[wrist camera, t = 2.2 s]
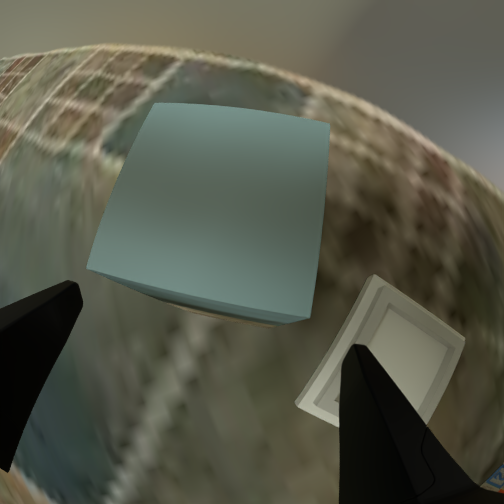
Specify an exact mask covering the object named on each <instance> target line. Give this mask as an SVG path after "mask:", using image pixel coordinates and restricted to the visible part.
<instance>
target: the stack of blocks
mask: <svg viewBox="0 0 504 504" xmlns="http://www.w3.org/2000/svg"><path fill="white" fill-rule="evenodd" d="M480 487H482V488H484V489H487V490H491V491H496V492H500V493H504V463H503V465H501V466H500V467H499V468H498V469H497V471H496V472H495V473H494V474H493V475H492V476H491V477H490V478H489V479H487V480H486V482H485V483H483V484H482V485H481V486H480Z"/></svg>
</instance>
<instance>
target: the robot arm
mask: <svg viewBox="0 0 504 504" xmlns="http://www.w3.org/2000/svg"><path fill="white" fill-rule="evenodd" d="M82 307H83V299H82V295H81V292H80V288H79V285H78V284H77V283H76V282H73V281H70V280H67V281H64V282H62V283H59V284H57V285H54V286H52V287H49V288H47V289H45V290H42V291H40V292H38V293H35V294H33V295H31V296H28V297H26V298H24V299H21V300H19V301H17V302H14V303H12V304H10V305H8V306H5V307H3V308H1V309H0V468H1V469H2V470H4V471H5V472H7V473H8V472H9V470H10V467H11V464H12V461H13V458H14V455H15V452H16V449H17V447H18V444H19V441H20V439H21V436H22V433H23V430H24V428H25V426H26V423H27V421H28V418H29V416H30V414H31V411H32V409H33V407H34V405H35V403H36V400H37V398H38V396H39V394H40V392H41V390H42V388H43V386H44V384H45V382H46V380H47V378H48V376H49V374H50V372H51V370H52V368H53V366H54V364H55V362H56V360H57V358H58V356H59V355H60V353H61V351H62V349H63V347H64V346H65V344H66V342H67V340H68V337H69V335H70V333H71V331H72V329H73V326H74V324H75V322H76V320H77V318H78V316H79V314H80V312H81V310H82ZM426 426H427V425H426V424H425V422H424V421H423V419H422V418H421V417H420V415H419V414H418V413H417V411H416V410H415V409H414V407H413V406H412V405H411V403H410V402H409V401H408V399H407V398H406V397H405V395H404V394H403V393H402V391H401V390H400V389H399V387H398V386H397V385H396V383H395V382H394V381H393V379H392V378H391V377H390V376H389V374H388V373H387V372H386V370H385V369H384V368H383V366H382V365H381V364H380V363H379V361H378V360H377V359H376V357H375V356H374V355H373V354H372V352H371V351H370V350H369V348H368V347H367V346H366V345H364V344H352V345H351V347H350V349H349V350H348V352H347V354H346V356H345V358H344V359H343V362H342V366H341V382H340V398H339V440H340V479H339V504H504V493H500V492H496V491H491V490H487V489H484V488H482V487H480V486H478V485H477V484H476V483H474V482H473V481H472V480H471V479H470V477H469V476H468V475H467V474H466V473H465V472H464V471H463V470H462V468H461V467H460V466H459V465H458V464H457V463H456V462H455V460H454V459H453V458H452V457H451V456H450V455H449V453H448V452H447V451H446V450H445V449H444V448H443V446H442V445H441V444H440V442H439V441H438V440H437V438H436V437H435V436H434V434H433V433H432V432H431V430H430V429H429V427H426Z"/></svg>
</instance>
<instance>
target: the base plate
mask: <svg viewBox="0 0 504 504" xmlns="http://www.w3.org/2000/svg"><path fill="white" fill-rule="evenodd" d="M352 344H364V345H366V346H367V347H368V348H369V350H370V351H371V352H372V354H373V355H374V356H375V357H376V359H377V360H378V361H379V363H380V364H381V365H382V366H383V368H384V369H385V370H386V372H387V373H388V374H389V376H390V377H391V378H392V379H393V381H394V382H395V383H396V385H397V386H398V387H399V389H400V390H401V391H402V393H403V394H404V395H405V397H406V398H407V399H408V401H409V402H410V403H411V405H412V406H413V407H414V409H415V410H416V411H417V413H418V414H419V415H420V417H421V418H422V419H423V421H424V422H425V424H426V425H427V423H428V421H429V420H430V418H431V416H432V414H433V413H434V411H435V409H436V407H437V405H438V403H439V401H440V399H441V397H442V395H443V393H444V391H445V389H446V387H447V385H448V383H449V381H450V379H451V377H452V374H453V372H454V370H455V367H456V365H457V363H458V360H459V358H460V355H461V353H462V350H463V348H464V345H465V337H463V336H462V335H461V334H459V333H458V332H457V331H455V330H454V329H453V328H451V327H450V326H449V325H447V324H446V323H445V322H443V321H442V320H440V319H439V318H438V317H436V316H435V315H433V314H432V313H431V312H429V311H428V310H426V309H425V308H424V307H422V306H421V305H419V304H418V303H417V302H415V301H414V300H412V299H411V298H409V297H408V296H406V295H405V294H404V293H402V292H401V291H399V290H398V289H396V288H395V287H393V286H392V285H390V284H389V283H387V282H386V281H384V280H383V279H381V278H380V277H378V276H377V275H375V274H373V275H371V276H369V277H368V278H367V280H366V282H365V284H364V286H363V288H362V290H361V292H360V294H359V296H358V298H357V299H356V301H355V303H354V305H353V307H352V309H351V311H350V313H349V315H348V316H347V318H346V320H345V322H344V324H343V325H342V327H341V329H340V331H339V332H338V334H337V336H336V338H335V339H334V341H333V343H332V345H331V346H330V348H329V350H328V351H327V353H326V355H325V356H324V358H323V359H322V361H321V363H320V364H319V366H318V367H317V369H316V371H315V372H314V374H313V375H312V377H311V378H310V380H309V381H308V383H307V384H306V386H305V387H304V389H303V390H302V392H301V393H300V395H299V396H298V398H297V399H296V401H295V404H296V405H297V407H299V408H301V409H303V410H305V411H307V412H309V413H311V414H312V415H314V416H316V417H318V418H320V419H323V420H325V421H327V422H329V423H331V424H333V425H335V426H337V427H339V398H340V382H341V366H342V362H343V359H344V358H345V356H346V354H347V352H348V350H349V349H350V347H351V345H352Z"/></svg>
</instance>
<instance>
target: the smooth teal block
mask: <svg viewBox="0 0 504 504" xmlns="http://www.w3.org/2000/svg"><path fill="white" fill-rule="evenodd" d="M329 138H330V124H329V123H324V122H320V121H315V120H311V119H306V118H301V117H296V116H290V115H285V114H279V113H273V112H266V111H259V110H252V109H244V108H236V107H226V106H215V105H202V104H183V103H154V105H153V107H152V109H151V111H150V112H149V114H148V116H147V118H146V120H145V122H144V124H143V125H142V127H141V129H140V131H139V133H138V135H137V137H136V139H135V141H134V143H133V145H132V147H131V150H130V152H129V154H128V156H127V158H126V160H125V162H124V165H123V167H122V169H121V171H120V174H119V176H118V178H117V181H116V183H115V186H114V188H113V191H112V193H111V196H110V198H109V201H108V203H107V206H106V209H105V211H104V214H103V217H102V220H101V222H100V225H99V228H98V231H97V234H96V237H95V240H94V243H93V247H92V250H91V253H90V256H89V260H88V263H87V267H86V269H89V270H91V271H93V272H95V273H97V274H99V275H102V276H104V277H106V278H108V279H111V280H113V281H115V282H117V283H120V284H122V285H124V286H127V287H129V288H131V289H134V290H136V291H138V292H141V293H143V294H146V295H148V296H151V297H153V298H156V299H158V300H161V301H163V302H166V303H168V304H171V305H173V306H176V307H179V308H181V309H184V310H187V311H189V312H192V313H196V314H200V315H204V316H209V317H213V318H218V319H223V320H228V321H232V322H237V323H242V324H247V325H253V326H258V327H263V328H272V327H276V326H280V325H284V324H288V323H292V322H296V321H300V320H304V319H308V318H310V315H311V309H312V303H313V296H314V289H315V282H316V275H317V268H318V260H319V253H320V244H321V236H322V227H323V217H324V207H325V196H326V184H327V171H328V156H329Z"/></svg>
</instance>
